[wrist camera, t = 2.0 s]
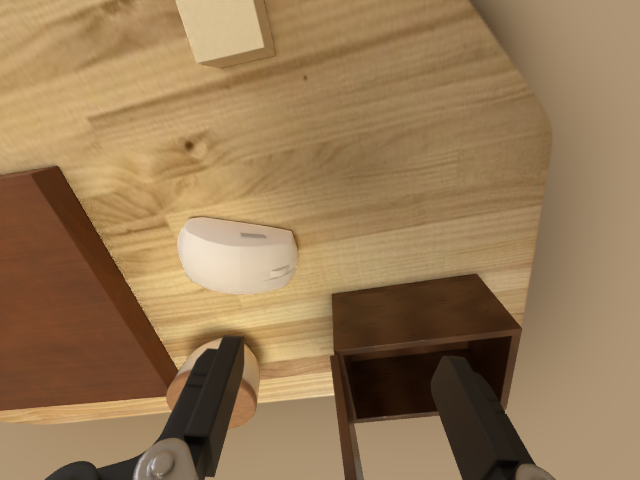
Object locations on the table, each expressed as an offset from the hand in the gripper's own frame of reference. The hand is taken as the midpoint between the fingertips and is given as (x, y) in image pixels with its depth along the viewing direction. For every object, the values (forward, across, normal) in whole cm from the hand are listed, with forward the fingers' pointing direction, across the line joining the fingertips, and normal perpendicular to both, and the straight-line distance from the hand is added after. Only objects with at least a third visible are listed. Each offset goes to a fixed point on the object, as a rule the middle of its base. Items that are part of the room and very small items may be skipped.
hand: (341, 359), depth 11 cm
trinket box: (+21, +11, +25) cm, 35 cm away
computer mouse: (+21, +9, +7) cm, 24 cm away
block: (+20, +9, -13) cm, 26 cm away
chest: (+20, -12, +16) cm, 29 cm away
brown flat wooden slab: (+21, +42, +22) cm, 52 cm away
